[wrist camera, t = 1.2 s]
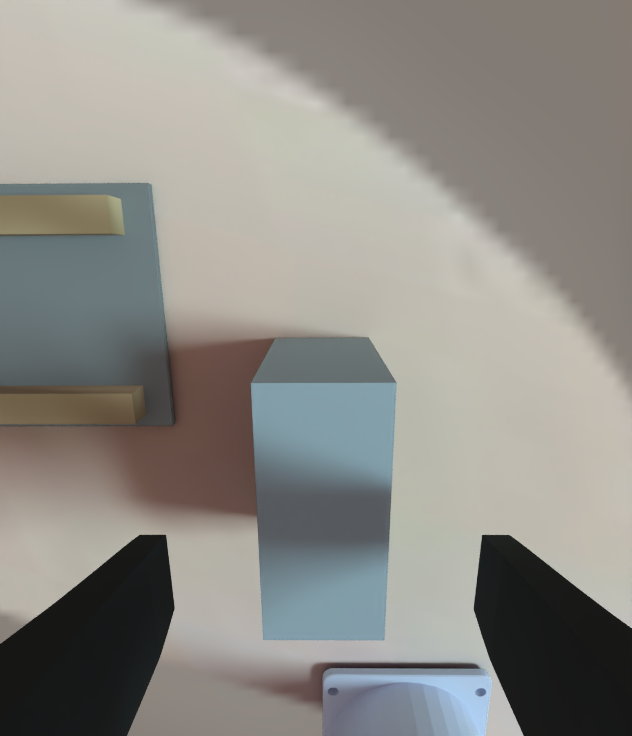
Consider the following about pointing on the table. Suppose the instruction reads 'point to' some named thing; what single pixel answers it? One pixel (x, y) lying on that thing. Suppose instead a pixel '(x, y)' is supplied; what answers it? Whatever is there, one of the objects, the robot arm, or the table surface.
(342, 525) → the bar
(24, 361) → the guide mat
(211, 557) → the table surface
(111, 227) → the guide rails
